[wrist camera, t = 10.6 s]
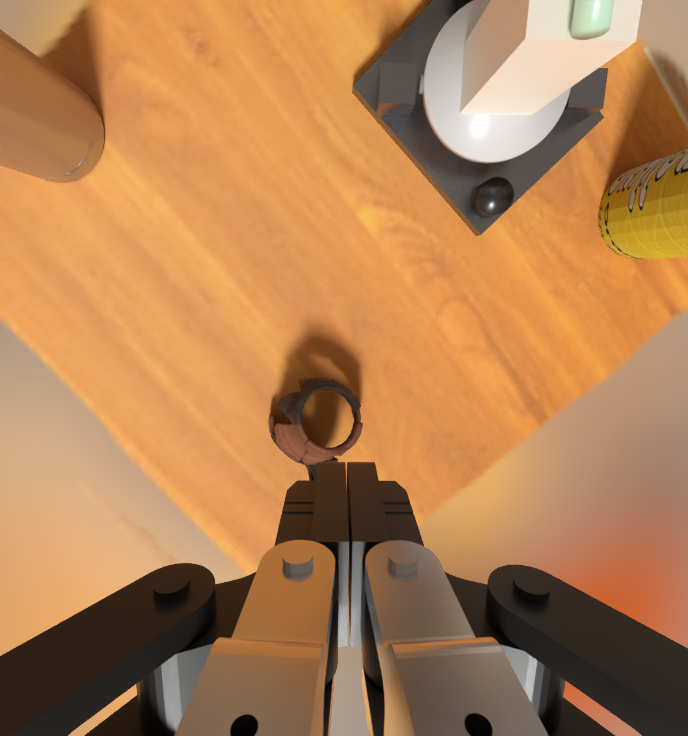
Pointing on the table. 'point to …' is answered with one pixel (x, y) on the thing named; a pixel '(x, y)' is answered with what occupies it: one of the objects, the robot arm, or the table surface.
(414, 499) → the table surface
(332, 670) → the robot arm
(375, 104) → the base
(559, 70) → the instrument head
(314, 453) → the brown hollow shell
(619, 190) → the beverage can
